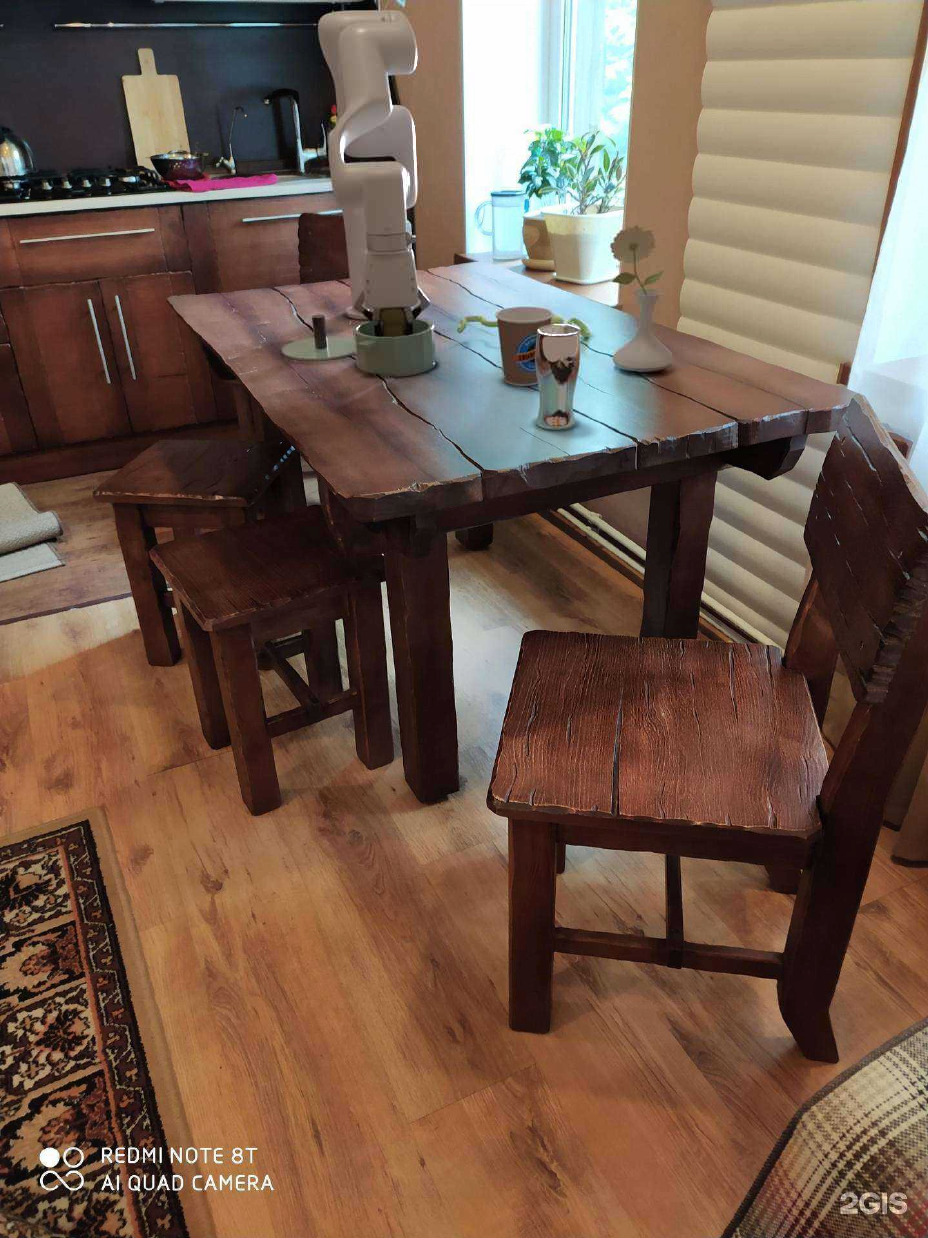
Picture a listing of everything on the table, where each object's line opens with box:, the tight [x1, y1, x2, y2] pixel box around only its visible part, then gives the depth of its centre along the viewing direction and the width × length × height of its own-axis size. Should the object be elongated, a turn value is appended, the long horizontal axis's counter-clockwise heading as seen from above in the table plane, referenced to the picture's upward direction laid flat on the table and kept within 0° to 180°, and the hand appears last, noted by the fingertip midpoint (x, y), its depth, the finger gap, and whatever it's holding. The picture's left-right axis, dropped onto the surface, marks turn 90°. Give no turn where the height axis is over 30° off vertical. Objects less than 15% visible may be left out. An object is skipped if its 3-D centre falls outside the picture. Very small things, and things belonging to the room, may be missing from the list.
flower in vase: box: [609, 224, 675, 373], centre depth 163 cm, size 13×11×25 cm
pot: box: [352, 317, 436, 378], centre depth 174 cm, size 15×21×7 cm
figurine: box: [456, 313, 591, 338], centre depth 186 cm, size 18×27×6 cm
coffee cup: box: [494, 306, 555, 387], centre depth 162 cm, size 10×10×12 cm
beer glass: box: [535, 323, 581, 431], centre depth 142 cm, size 7×7×15 cm
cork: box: [379, 308, 406, 337], centre depth 173 cm, size 6×6×11 cm
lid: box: [281, 314, 355, 362], centre depth 183 cm, size 16×16×7 cm
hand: (394, 342), depth 174 cm, fingers closed on cork, 4 cm apart
